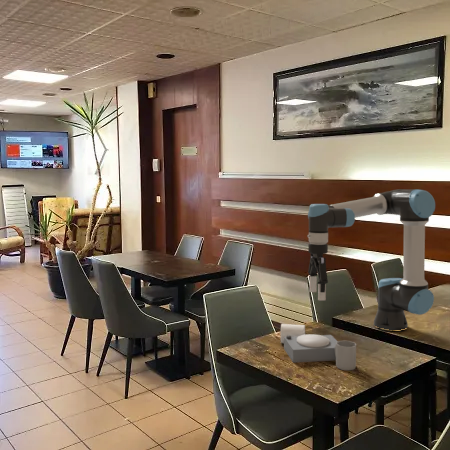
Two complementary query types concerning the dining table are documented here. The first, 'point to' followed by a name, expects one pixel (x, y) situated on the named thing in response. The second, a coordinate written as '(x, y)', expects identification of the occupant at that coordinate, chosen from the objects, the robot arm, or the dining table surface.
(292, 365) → the dining table surface
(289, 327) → the white rounded block
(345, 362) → the cup
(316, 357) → the square base with disc
